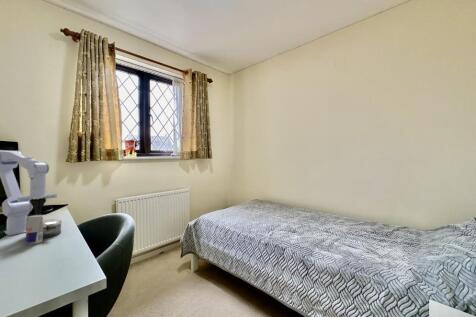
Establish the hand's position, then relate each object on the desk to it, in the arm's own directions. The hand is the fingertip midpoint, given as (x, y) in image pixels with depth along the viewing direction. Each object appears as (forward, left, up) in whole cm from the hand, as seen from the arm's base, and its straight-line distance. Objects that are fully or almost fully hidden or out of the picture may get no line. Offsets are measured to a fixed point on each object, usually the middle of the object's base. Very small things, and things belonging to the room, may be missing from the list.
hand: (37, 214), depth 107 cm
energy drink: (+13, -4, -11) cm, 17 cm away
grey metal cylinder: (+3, +2, -10) cm, 11 cm away
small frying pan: (+5, +2, -5) cm, 7 cm away
